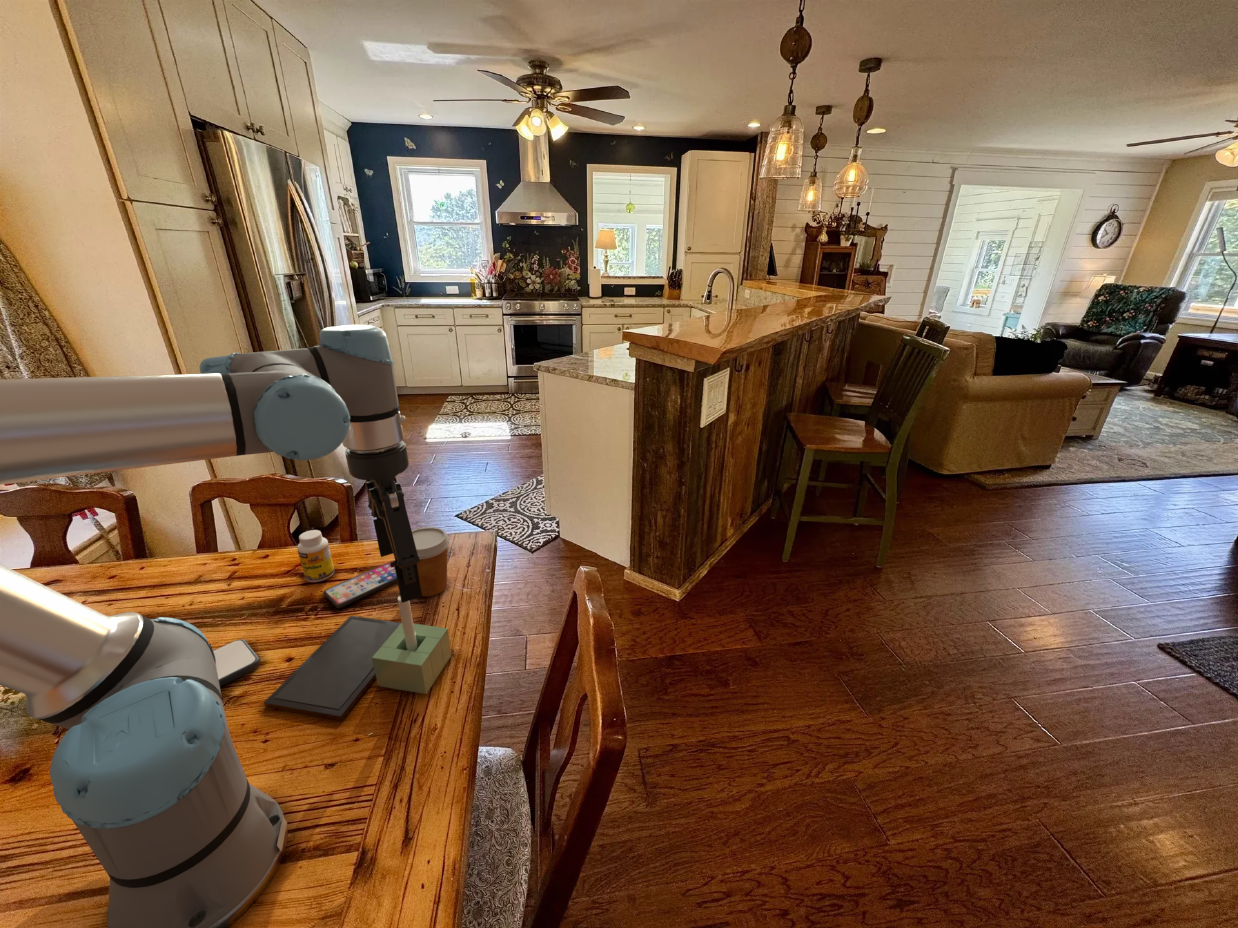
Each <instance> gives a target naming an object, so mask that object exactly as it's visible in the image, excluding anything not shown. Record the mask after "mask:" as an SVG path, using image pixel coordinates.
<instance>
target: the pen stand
mask: <svg viewBox="0 0 1238 928" xmlns="http://www.w3.org/2000/svg"><path fill="white" fill-rule="evenodd" d="M400 623H401V624H400V625H399V626H398V627H397V629H396V630H395V631H394V632H393V633H392V634H391V636H390V637H389V638H388V639H387V640H386V642H385V643H384V644H383V645H382V647H381V648H380V649H379V650H378V651H377V652H376V653H375V655H374V656H373V657H372V661H373V665H374V670H375V674H376V679H375V680H376V682H377V687H381V688H388V689H393V690H399V691H405V692H411V693H416V694H422V695H427V694H428V693H429V691H430V689H432V687H433V685H434V684H435V682H436V680H437V679H438V677H439V675H440V674H441V673H442V671H443V669H444V668H445V666H446V665H447V663H448V662H449V660H450V659H451V657H452V649H451V641H450V634H449V628H447V627H441V626H434V625H428V624H422V623H415V622H413V624H414V630H415V635H416V641H417V647H418V649H417V650H416V652H414V651H407V647H406V642H405V636H404V631H403V626H402V622H400Z"/></svg>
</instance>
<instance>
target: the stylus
mask: <svg viewBox="0 0 1238 928" xmlns="http://www.w3.org/2000/svg"><path fill="white" fill-rule="evenodd" d="M410 601H411V600H410ZM410 601H407V602H404V603H402V601H401V598H400V595H398V597H397V604H398V610H399V614H400V619H401V623H402V626H403V631H404V636H405V642H406V647H407V651H414V652H416V650H417V649H418V647H417V641H416V635H415V630H414V624H415V623H414V620H413V614H412V607H411V602H410ZM413 623H414V624H413Z"/></svg>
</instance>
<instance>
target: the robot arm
mask: <svg viewBox="0 0 1238 928" xmlns="http://www.w3.org/2000/svg"><path fill="white" fill-rule="evenodd" d="M318 342H319V345H313V346H311V347H306V348H294V349H281V350H267V351H257V352H256V351H255V352H245V353H240V352H231V354H227V355H219V356H212V357H207V358H204V359H203V360H201V362H200V364H199V372H200V373H181V374H179V373H178V374H145V375H114V376H113V375H111V376H110V375H109V376H76V377H43V378H38V377H37V378H10V379H9V378H7V379H0V485H9V484H17V483H25V482H26V483H27V482H34V481H42V480H51V479H57V478H58V479H60V478H68V477H73V476H84V475H91V474H92V475H93V474H101V473H108V472H116V471H125V470H131V469H133V470H134V469H141V468H148V467H149V468H150V467H157V466H165V465H173V464H182V463H190V462H197V461H206V460H207V461H208V460H214V459H223V458H231V457H239V456H247V455H257V454H258V455H259V454H267V453H268V454H269V453H274V454H276V455H278V456H281V457H284V458H286V459H289V460H294V461H314V460H317V459H320V458H321V459H322V458H324V457H327V456H328V455H330V454H331V453H333V452H335V451H336V450H337V449H339V447H340V446H341V445H342V446H343V447H344V448H346V449H345V451H344V454H345V455H344V456H345V459H346V464H347V469H348V473H349V475H350V476H351V477H353V478H354V479H356V480H360V481H365V484H364V485H365V486H364V487H365V490H366V494H367V495H366V496H367V503H368V505H367V506H368V508H369V510H370V514H371V517H372V518H373V519H372V521H373V526H374V531H375V535H376V536H375V537H376V540H377V546H378V550H379V551H378V552H379V555H380V557H381V558H384V557H387V556H389V555H393V557H394V560H393V561H394V562H391V563H390V566H391V568H392V567H395V572H396V577H397V582H396V583H397V587H398V592H399V596H400V598H401V601H402V603H404V602H407V601H413V600H416V599H419V598H421V597H423V596H422V592H421V586H420V581H419V575H418V569H417V563H419V561H420V558H419V556H418V554H417V550H416V546H415V542H414V538H413V534H412V527H411V523H410V519H409V515H408V511H407V508H406V502H405V493H404V492H403V488H402V485H401V483H400V482H398V481H397V476H399V474H402V473H404V472H405V471H407V469H408V468H409V465H410V461H409V455H408V450H407V443H406V442H405V441H404V438H405V434H404V433H405V432H404V428H403V425H402V424H403V423H406V422H407V418H406V416H405V415H401V409H400V405H399V404H400V403H399V398H398V390H397V382H396V376H395V369H394V365H395V363H394V360H393V355H392V352H391V347H390V344H389V340H388V336H387V334H386V332H385V331H384V330H383V329H382V328H380V327H378V326H375V325H371V324H344V325H341V324H340V325H336V326H328V327H324V328H323V329H321V330H320V332H319V341H318ZM213 650H214V649H213V647H212V644H210V643H209V640H208V638H207V637H206V636H205V634H204V633H203V632H202V631H201V630H200V629H199V628H197V627H196V626H195V625H193V624H192V623H190V622H187V621H185V620H182V619H179V618H175V617H174V618H173V617H167V616H166V617H165V616H158V617H157V618H148V617H146V616H144V615H142V614H141V613H138V612H135V611H126V612H121V613H118V614H117V613H116V614H112V615H106V614H104V613H102V612H99V611H97V610H95V609H93V608H91V607H90V606H87V605H85V604H83V603H81V602H79V601H77V600H76V599H73V598H71V597H69V596H68V595H65V594H63V593H61V592H58V591H57V590H55V589H52V588H51V587H49V586H46V585H45V584H42V583H40V582H38V581H36V580H34V579H33V578H30V577H28V576H26V575H24V574H23V573H20V572H18V571H16V570H14V569H12V568H9V567H8V566H5V565H4V564H2V563H0V686H1V687H4V688H7V689H9V690H12V691H15V692H18V693H21V694H24V695H25V698H26V703H25V704H26V706H25V707H26V713H27V715H28V716H29V717H30V718H33V719H35V720H39V721H42V722H45V723H48V724H51V725H54V726H57V727H59V728H63V729H65V730H67V731H66V732H65V734H64V735H63V736H62V738H61V739H60V741H59V743H58V744H57V746H56V748H55V750H54V752H53V755H52V758H51V761H50V767H49V777H50V782H51V786H52V787H53V788H52V789H53V795H54V798H55V801H56V802H57V803H58V805H59V806H60V809H61V812H62V813H63V814H65V815H66V816H67V817H68V818H69V819H71V820H72V822H73V823H74V825H75V827H76V828H77V830H78V832H79V833H80V834H81V836H82V838H83V839H84V840H85V842H86V843H87V845H88V847H89V848H90V850H91V851H92V853H93V854H94V855H95V857H96V859H97V860H98V862H99V863H100V864H101V866H102V868H103V870H104V871H105V872H106V874H107V876H108V878H109V885H108V886H109V887H108V907H107V914H106V915H107V927H108V928H228V927H229V926H231V925H232V924H233V923H234V922H235V921H236V920H237V919H238V918H240V917H241V916H242V915H243V914H244V913H245V912H246V911H247V910H248V909H249V908H250V907H251V906H252V905H253V904H254V903H255V902H256V901H257V899H259V897H260V896H261V895H262V893H263V892H264V890H265V889H266V888H267V887H268V885H269V884H270V882H271V881H272V879H273V877H274V876H275V874H276V873H277V872H278V868H280V865H281V863H282V861H283V857H284V855H285V852H286V850H287V845H288V840H289V827H288V826H289V825H288V821H287V819H286V817H285V813H284V811H283V809H282V806H280V804H279V803H278V802H277V801H276V800H275V799H274V798H273V797H271V796H270V795H269V794H267V793H265V792H264V791H262V790H260V788H258V787H256V786H254V785H253V784H251V783H250V782H249V780H248V778H247V775H246V773H245V769H244V768H243V765H242V762H241V760H240V758H239V755H238V753H237V750H236V748H235V745H234V742H233V739H232V736H231V732H230V728H229V724H228V719H227V714H226V710H225V706H224V702H223V697H222V696H223V695H222V692H221V691H222V690H221V687H220V685H219V680H218V674H217V669H216V658H215V654H214V651H213Z"/></svg>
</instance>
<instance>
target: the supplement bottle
mask: <svg viewBox="0 0 1238 928" xmlns="http://www.w3.org/2000/svg"><path fill="white" fill-rule="evenodd" d="M298 540H299V543H298V544H297V547H296V549H297V553H298V557H299V561H300V565H301V568H302V569H301V570H302V572H303V576H304V579H305V580H306V581H307V582H309V583H319V582H323V581H326V580H328V579H330V578H331V577H332V576H333V575H334V574H335V566H334V561H333V557H332V553H331V549H330V545H329V540H328V539H327V538H326V537H323V535H322V532H321V530H318V529H311V530H306V531H305V532H302V533H301V534H299V536H298Z"/></svg>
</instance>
